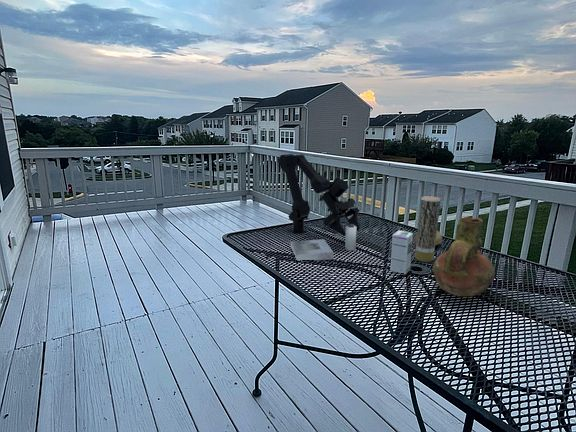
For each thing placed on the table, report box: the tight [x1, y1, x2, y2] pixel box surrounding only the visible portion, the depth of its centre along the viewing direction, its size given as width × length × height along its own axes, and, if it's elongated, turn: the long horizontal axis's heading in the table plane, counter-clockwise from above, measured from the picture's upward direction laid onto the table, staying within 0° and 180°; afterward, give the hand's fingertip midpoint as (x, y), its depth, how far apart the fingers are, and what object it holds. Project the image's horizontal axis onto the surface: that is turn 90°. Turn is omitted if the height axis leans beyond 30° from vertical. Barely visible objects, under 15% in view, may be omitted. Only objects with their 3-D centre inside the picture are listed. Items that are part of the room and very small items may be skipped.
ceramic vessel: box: [432, 216, 496, 297], centre depth 102 cm, size 17×26×25 cm, turn 141°
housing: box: [290, 238, 334, 262], centre depth 136 cm, size 15×15×3 cm
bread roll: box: [414, 230, 443, 246], centre depth 141 cm, size 10×15×8 cm, turn 132°
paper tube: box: [414, 195, 442, 263], centre depth 125 cm, size 7×7×25 cm
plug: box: [344, 223, 357, 251], centre depth 139 cm, size 4×4×11 cm
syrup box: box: [389, 229, 414, 275], centre depth 118 cm, size 6×6×14 cm
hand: (352, 232), depth 138 cm, fingers open, 9 cm apart
